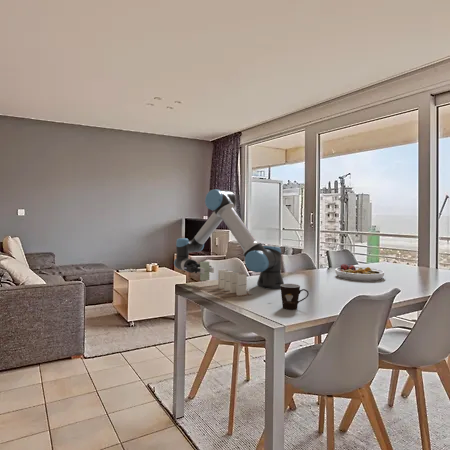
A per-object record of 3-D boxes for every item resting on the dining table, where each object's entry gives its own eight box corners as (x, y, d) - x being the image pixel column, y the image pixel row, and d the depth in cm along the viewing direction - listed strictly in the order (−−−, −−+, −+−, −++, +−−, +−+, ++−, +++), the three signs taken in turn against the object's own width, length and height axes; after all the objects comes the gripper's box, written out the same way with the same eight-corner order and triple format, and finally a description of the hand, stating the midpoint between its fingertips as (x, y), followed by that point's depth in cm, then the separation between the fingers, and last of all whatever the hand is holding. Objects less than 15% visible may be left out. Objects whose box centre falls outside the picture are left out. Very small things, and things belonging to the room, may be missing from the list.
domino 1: (200, 280, 201) (199, 262, 201) (208, 279, 204) (207, 261, 204) (201, 280, 200) (201, 262, 200) (209, 279, 203) (209, 261, 202)
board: (194, 288, 203) (194, 287, 203) (221, 285, 212) (221, 284, 212) (223, 300, 176) (223, 298, 176) (252, 296, 185) (252, 294, 185)
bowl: (393, 279, 237) (393, 267, 237) (365, 284, 220) (365, 271, 220) (353, 272, 262) (354, 261, 262) (325, 276, 245) (325, 265, 245)
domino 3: (224, 290, 195) (224, 271, 195) (232, 289, 198) (232, 270, 198) (225, 290, 194) (225, 272, 194) (233, 289, 197) (233, 271, 196)
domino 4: (230, 292, 190) (230, 273, 190) (238, 291, 193) (238, 272, 193) (231, 293, 189) (231, 273, 189) (239, 292, 192) (240, 272, 191)
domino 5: (236, 294, 185) (236, 275, 185) (244, 293, 188) (244, 274, 187) (238, 295, 184) (238, 275, 183) (246, 294, 186) (246, 274, 186)
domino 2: (218, 288, 200) (218, 270, 200) (226, 287, 203) (226, 269, 203) (219, 288, 199) (219, 270, 199) (227, 287, 202) (227, 269, 201)
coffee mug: (276, 307, 163) (276, 285, 163) (287, 304, 170) (287, 282, 169) (299, 313, 155) (299, 289, 155) (309, 309, 162) (309, 286, 161)
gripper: (203, 270, 223) (222, 276, 203) (175, 273, 213) (193, 279, 194) (202, 258, 223) (222, 262, 203) (175, 260, 213) (193, 265, 193)
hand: (208, 270), depth 198 cm, fingers closed on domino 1, 5 cm apart
